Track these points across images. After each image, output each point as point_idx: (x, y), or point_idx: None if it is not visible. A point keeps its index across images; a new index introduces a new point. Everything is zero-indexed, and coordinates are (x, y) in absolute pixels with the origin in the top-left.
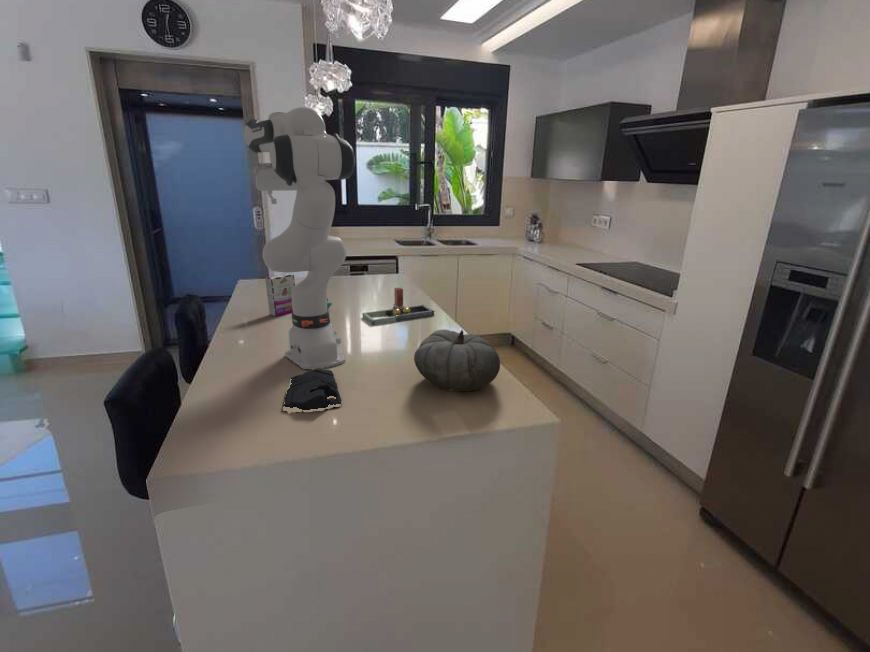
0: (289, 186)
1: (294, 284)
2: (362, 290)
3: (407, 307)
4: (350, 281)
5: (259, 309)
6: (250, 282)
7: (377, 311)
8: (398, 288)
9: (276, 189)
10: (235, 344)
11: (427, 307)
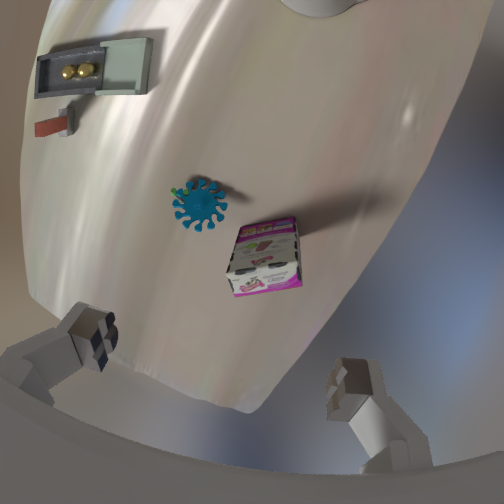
0: (132, 495)
1: (231, 258)
2: (90, 275)
3: (62, 72)
4: None
5: None
6: (248, 405)
7: (110, 90)
8: (39, 130)
9: (358, 484)
10: (420, 110)
11: (35, 80)
